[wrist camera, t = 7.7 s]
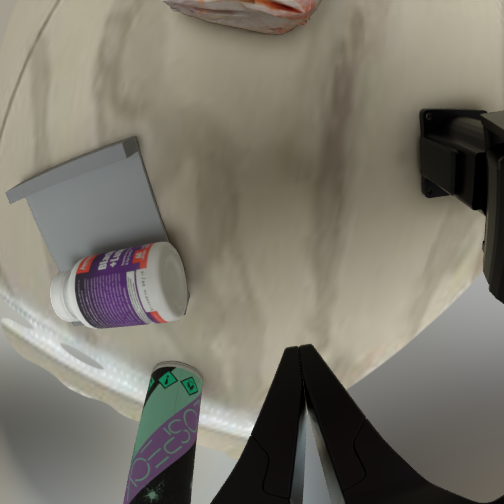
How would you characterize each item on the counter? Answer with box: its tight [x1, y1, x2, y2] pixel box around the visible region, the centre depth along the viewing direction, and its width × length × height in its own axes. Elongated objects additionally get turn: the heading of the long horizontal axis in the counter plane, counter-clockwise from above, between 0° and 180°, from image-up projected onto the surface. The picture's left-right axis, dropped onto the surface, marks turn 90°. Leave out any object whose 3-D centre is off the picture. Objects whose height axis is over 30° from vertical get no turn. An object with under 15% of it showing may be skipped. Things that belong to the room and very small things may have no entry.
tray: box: [6, 136, 190, 326], centre depth 21 cm, size 11×13×2 cm
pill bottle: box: [50, 242, 187, 328], centre depth 20 cm, size 5×5×10 cm
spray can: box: [123, 361, 203, 504], centre depth 22 cm, size 6×6×20 cm
